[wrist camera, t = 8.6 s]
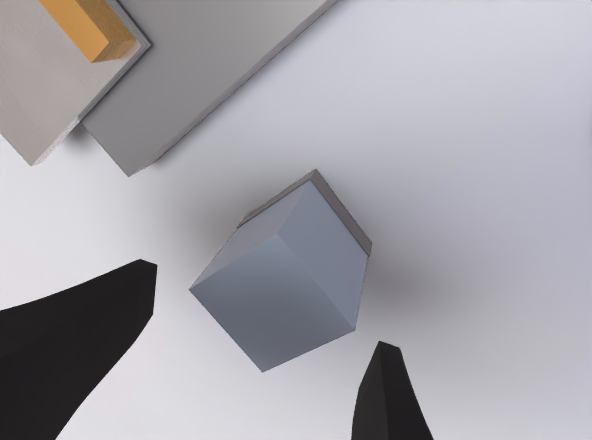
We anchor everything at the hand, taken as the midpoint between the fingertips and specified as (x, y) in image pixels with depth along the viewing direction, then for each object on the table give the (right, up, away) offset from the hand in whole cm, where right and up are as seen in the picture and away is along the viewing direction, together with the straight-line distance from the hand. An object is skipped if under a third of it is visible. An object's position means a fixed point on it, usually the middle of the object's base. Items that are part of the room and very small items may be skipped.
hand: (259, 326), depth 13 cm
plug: (+2, +3, +6) cm, 7 cm away
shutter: (-9, +10, +3) cm, 14 cm away
